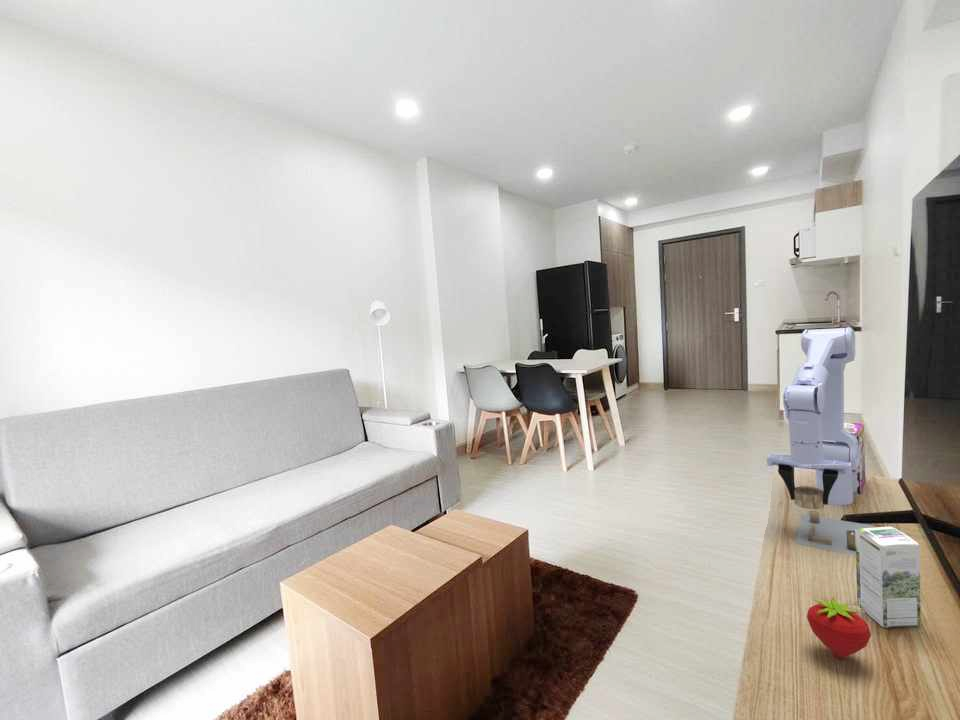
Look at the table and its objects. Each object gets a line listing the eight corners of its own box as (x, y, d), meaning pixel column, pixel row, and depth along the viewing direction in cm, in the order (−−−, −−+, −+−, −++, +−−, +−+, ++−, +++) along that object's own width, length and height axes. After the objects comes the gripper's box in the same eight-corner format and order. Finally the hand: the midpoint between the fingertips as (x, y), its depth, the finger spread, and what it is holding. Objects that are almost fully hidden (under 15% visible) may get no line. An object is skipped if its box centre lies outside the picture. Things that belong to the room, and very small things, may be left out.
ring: (796, 497, 101) (795, 484, 100) (825, 501, 97) (824, 488, 97) (793, 506, 97) (792, 493, 96) (823, 511, 93) (822, 497, 93)
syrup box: (892, 603, 76) (889, 524, 75) (923, 628, 71) (920, 542, 69) (856, 605, 77) (853, 526, 76) (884, 630, 71) (880, 544, 70)
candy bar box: (861, 496, 113) (859, 434, 112) (836, 492, 117) (833, 432, 115) (867, 481, 121) (864, 422, 119) (843, 478, 124) (840, 421, 123)
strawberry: (871, 682, 63) (868, 616, 62) (805, 658, 68) (802, 597, 67) (873, 655, 67) (870, 593, 66) (811, 635, 72) (808, 577, 71)
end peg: (847, 545, 93) (846, 529, 92) (858, 547, 92) (857, 531, 91) (846, 549, 91) (846, 533, 91) (858, 551, 90) (857, 535, 90)
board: (803, 517, 107) (802, 505, 107) (875, 529, 99) (874, 516, 98) (795, 546, 96) (794, 533, 96) (875, 562, 87) (875, 548, 87)
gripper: (763, 442, 97) (766, 501, 99) (848, 449, 88) (851, 514, 89) (768, 433, 103) (772, 489, 104) (850, 439, 93) (853, 500, 94)
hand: (809, 500), depth 97 cm, fingers closed on ring, 5 cm apart
